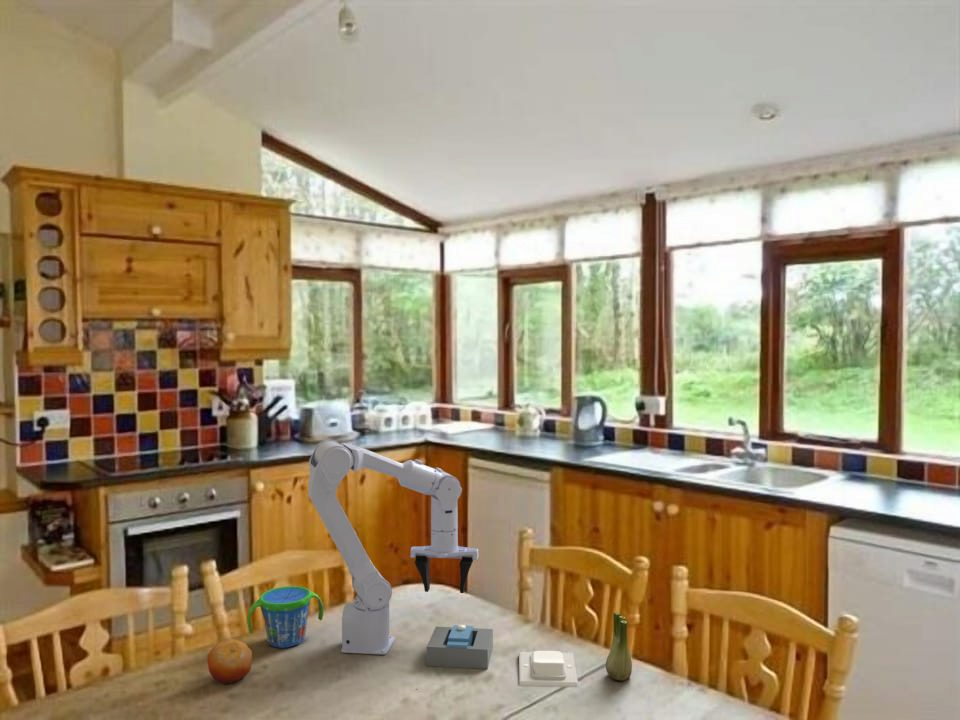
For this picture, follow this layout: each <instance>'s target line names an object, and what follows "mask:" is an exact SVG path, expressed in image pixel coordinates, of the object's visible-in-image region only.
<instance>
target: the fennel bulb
mask: <svg viewBox="0 0 960 720" xmlns="http://www.w3.org/2000/svg"><path fill="white" fill-rule="evenodd" d="M612 619H613V625H612V626H613V627H612V628H613V629H612V642H611V646H610V650H609V653H608V655H607V657H606V660H605V671H606V673H607V674H608V676H610V678H611V679H613V680H615V681H626V680H627V679H629V678H630V677H631V676H632V671H633V664H632V663H633V662H632V657H631V656H632V655H631V652H630V650H629V646H628V622H627V618H626V617H625V616H623V615H621V612H620V611H617V610H616V611H613V617H612Z"/></svg>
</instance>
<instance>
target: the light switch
mask: <svg viewBox="0 0 960 720" xmlns="http://www.w3.org/2000/svg"><path fill="white" fill-rule="evenodd" d="M575 663H576V661H575V656H574V653H573V652H562V651H558V650H533V651H519V653H518V681H519V684H518V685H519V686H520V687H547V688H548V687H553V688H557V687H558V688H561V687H562V688H578V687H579V681H578V675H577V669H576V664H575ZM554 686H556V687H554Z"/></svg>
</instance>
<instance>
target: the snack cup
mask: <svg viewBox="0 0 960 720" xmlns="http://www.w3.org/2000/svg"><path fill="white" fill-rule="evenodd" d="M313 598H315V599H317V603H318V616H317V618H318V620H319V621H320V622H321V621H322V620H323V618H324V617H323V616H324V604H323V602H322V599H321V598H320V597H319V595H318V594H317V593H315V592H313V591H311V590H310V589H308V588H307V587H303V586H298V585H297V586H295V585H293V586H292V585H290V586H279V587H274V588H272V589H269V590H267V591H265V592H263V593H262V594H260V596H259V598H258V599H257V600H256V601H255V602H253V603H252V605H251V606H250V608H249V610H248V611H247V612H248V613H247V619H246V623H247V628H248V631H249V633H250V634H252V633H253V629H252V621H251V617H252V614H253V612H254V611H256V609H257V608H258V607H259V608H260V611H261V614H262V616H263V621H264V626H265V632H266V637H267V642H268V644H269V645H271V646H272V647H275V648H279V649H285V648H291V647H294V646H296V645H301V643H302V642H303V641H304V640H305V638H306V632H307V624H308V623H307V622H308V614H309V607H310V605H311V600H312V599H313Z"/></svg>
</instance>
